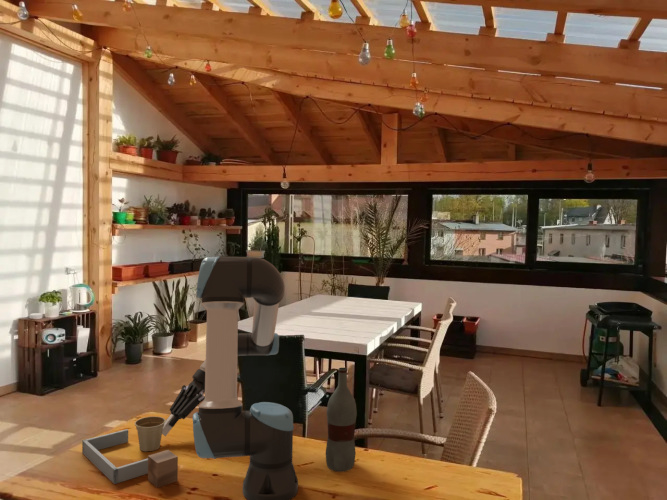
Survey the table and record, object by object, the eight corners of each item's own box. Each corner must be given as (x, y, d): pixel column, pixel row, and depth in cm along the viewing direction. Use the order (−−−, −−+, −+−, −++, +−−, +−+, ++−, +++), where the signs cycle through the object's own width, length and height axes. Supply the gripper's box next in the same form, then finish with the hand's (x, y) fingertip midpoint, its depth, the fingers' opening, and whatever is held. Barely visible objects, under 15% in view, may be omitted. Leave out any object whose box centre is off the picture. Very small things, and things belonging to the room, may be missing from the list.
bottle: (339, 456, 164) (342, 362, 162) (361, 465, 157) (364, 368, 156) (318, 465, 157) (321, 368, 155) (340, 475, 150) (343, 374, 149)
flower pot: (170, 442, 170) (170, 416, 170) (157, 455, 161) (157, 428, 160) (143, 440, 171) (143, 415, 171) (129, 453, 162) (129, 426, 161)
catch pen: (162, 468, 152) (162, 455, 152) (114, 484, 142) (114, 470, 142) (126, 440, 171) (127, 429, 171) (82, 452, 161) (82, 440, 161)
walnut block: (177, 480, 145) (177, 456, 145) (157, 488, 141) (157, 463, 141) (167, 473, 149) (168, 449, 149) (147, 479, 145) (148, 455, 145)
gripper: (223, 384, 177) (178, 445, 167) (204, 376, 187) (160, 433, 176) (210, 372, 173) (162, 433, 163) (191, 364, 183) (145, 422, 172)
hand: (161, 433), depth 169 cm, fingers closed
